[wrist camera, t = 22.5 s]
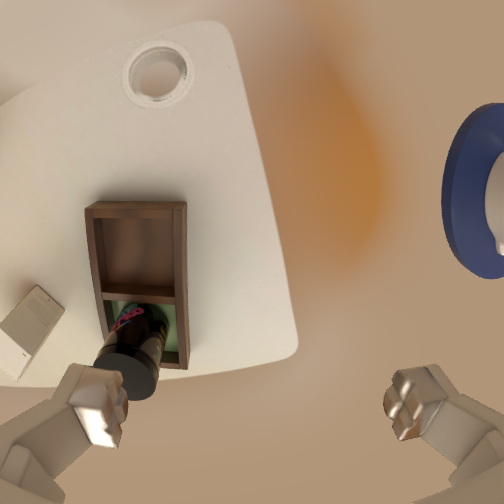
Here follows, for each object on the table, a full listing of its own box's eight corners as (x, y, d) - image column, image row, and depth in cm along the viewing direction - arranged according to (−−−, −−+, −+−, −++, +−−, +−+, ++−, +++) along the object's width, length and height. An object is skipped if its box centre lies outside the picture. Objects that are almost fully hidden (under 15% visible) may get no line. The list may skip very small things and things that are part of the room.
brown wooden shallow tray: (187, 202, 33) (182, 210, 30) (190, 353, 41) (187, 370, 37) (96, 201, 32) (84, 208, 29) (116, 346, 40) (109, 362, 37)
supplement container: (157, 292, 36) (135, 347, 26) (179, 336, 38) (167, 396, 28) (111, 305, 36) (80, 358, 26) (134, 347, 39) (114, 403, 29)
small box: (37, 283, 36) (-3, 324, 26) (66, 310, 37) (32, 356, 28) (20, 315, 37) (-14, 356, 28) (47, 339, 39) (16, 383, 29)
